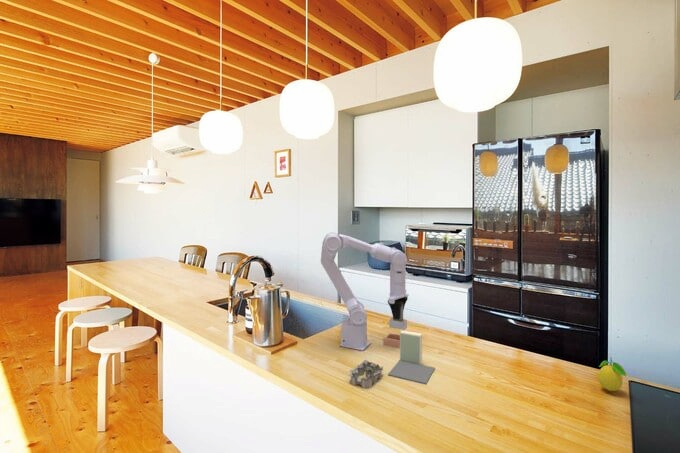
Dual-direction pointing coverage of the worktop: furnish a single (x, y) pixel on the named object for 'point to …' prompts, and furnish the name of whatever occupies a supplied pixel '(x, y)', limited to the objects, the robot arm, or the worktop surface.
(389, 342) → the pusher holder
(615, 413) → the worktop surface
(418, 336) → the glazed tile
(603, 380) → the lemon
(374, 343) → the worktop surface
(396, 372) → the mat
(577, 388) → the worktop surface
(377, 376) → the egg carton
